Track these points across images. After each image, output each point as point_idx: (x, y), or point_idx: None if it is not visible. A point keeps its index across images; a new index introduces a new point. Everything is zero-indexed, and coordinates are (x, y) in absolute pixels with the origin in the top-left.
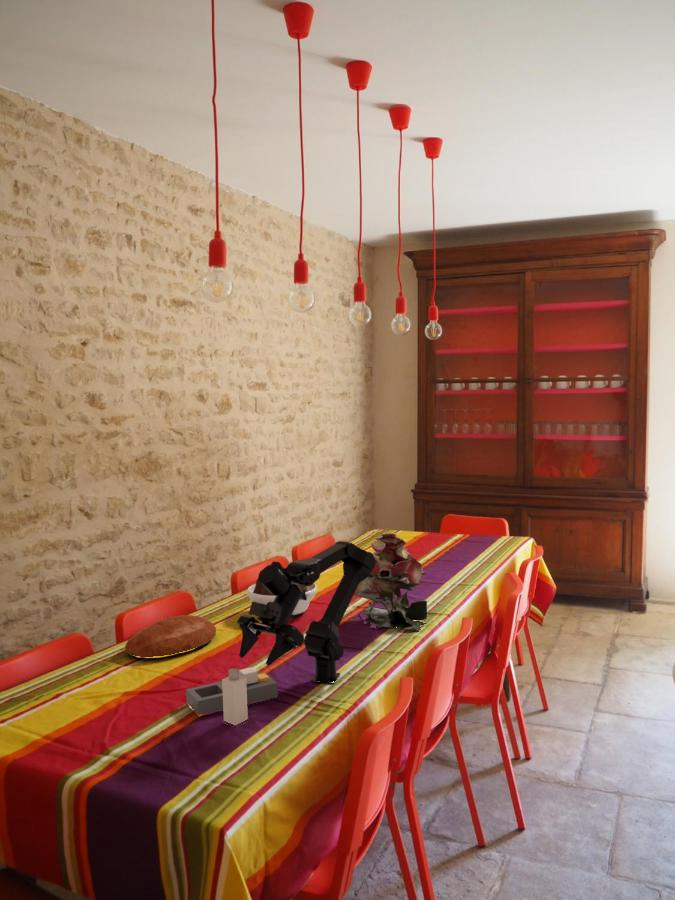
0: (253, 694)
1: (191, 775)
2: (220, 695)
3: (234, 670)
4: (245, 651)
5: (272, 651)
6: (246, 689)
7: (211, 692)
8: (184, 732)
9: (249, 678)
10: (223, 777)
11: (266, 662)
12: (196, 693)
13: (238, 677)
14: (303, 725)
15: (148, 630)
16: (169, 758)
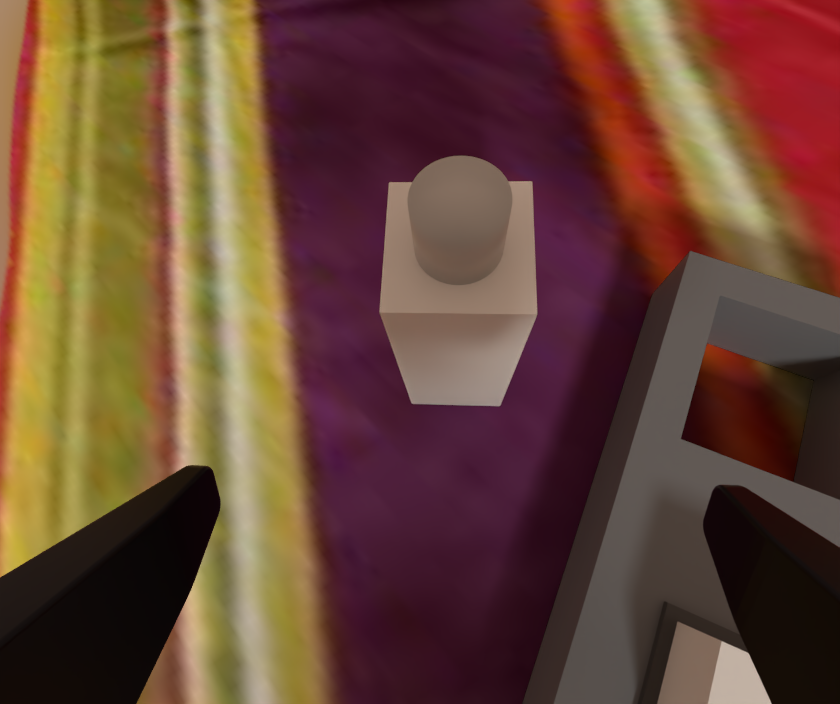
0: (567, 610)
1: (281, 15)
2: (659, 384)
3: (449, 198)
4: (760, 611)
5: (37, 582)
6: (392, 347)
7: (835, 473)
8: (566, 170)
9: (686, 682)
10: (180, 58)
11: (193, 467)
12: (814, 322)
13: (414, 248)
14: None
15: None
16: (432, 34)
